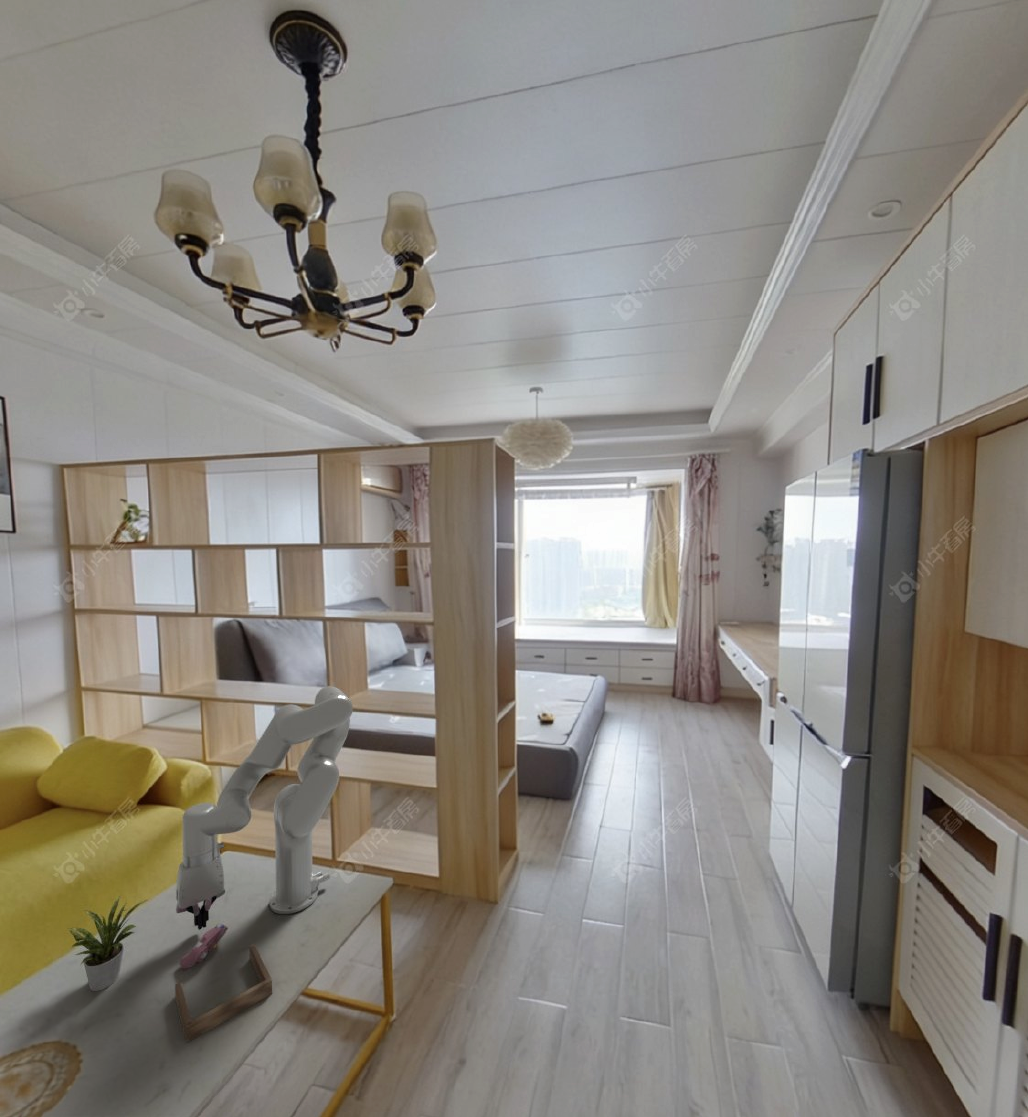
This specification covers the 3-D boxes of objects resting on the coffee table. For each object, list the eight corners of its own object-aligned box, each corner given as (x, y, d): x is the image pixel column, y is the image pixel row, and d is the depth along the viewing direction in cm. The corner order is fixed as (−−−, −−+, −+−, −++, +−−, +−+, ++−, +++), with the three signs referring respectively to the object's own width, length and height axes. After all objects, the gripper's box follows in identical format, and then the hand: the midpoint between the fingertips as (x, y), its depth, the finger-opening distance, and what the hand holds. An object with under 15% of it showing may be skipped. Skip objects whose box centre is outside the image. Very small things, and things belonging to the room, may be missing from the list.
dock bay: (254, 956, 118) (254, 944, 118) (272, 993, 108) (272, 980, 108) (175, 997, 107) (175, 984, 107) (186, 1042, 97) (186, 1028, 97)
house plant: (140, 941, 123) (139, 877, 123) (157, 971, 114) (156, 902, 114) (63, 980, 112) (63, 909, 112) (76, 1016, 103) (75, 939, 103)
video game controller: (190, 978, 114) (202, 954, 113) (175, 967, 115) (187, 943, 114) (223, 945, 124) (234, 922, 123) (209, 935, 124) (220, 912, 124)
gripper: (230, 837, 133) (230, 903, 133) (163, 860, 123) (164, 932, 123) (236, 849, 127) (237, 919, 128) (167, 875, 117) (168, 950, 118)
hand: (201, 925), depth 125 cm, fingers closed
